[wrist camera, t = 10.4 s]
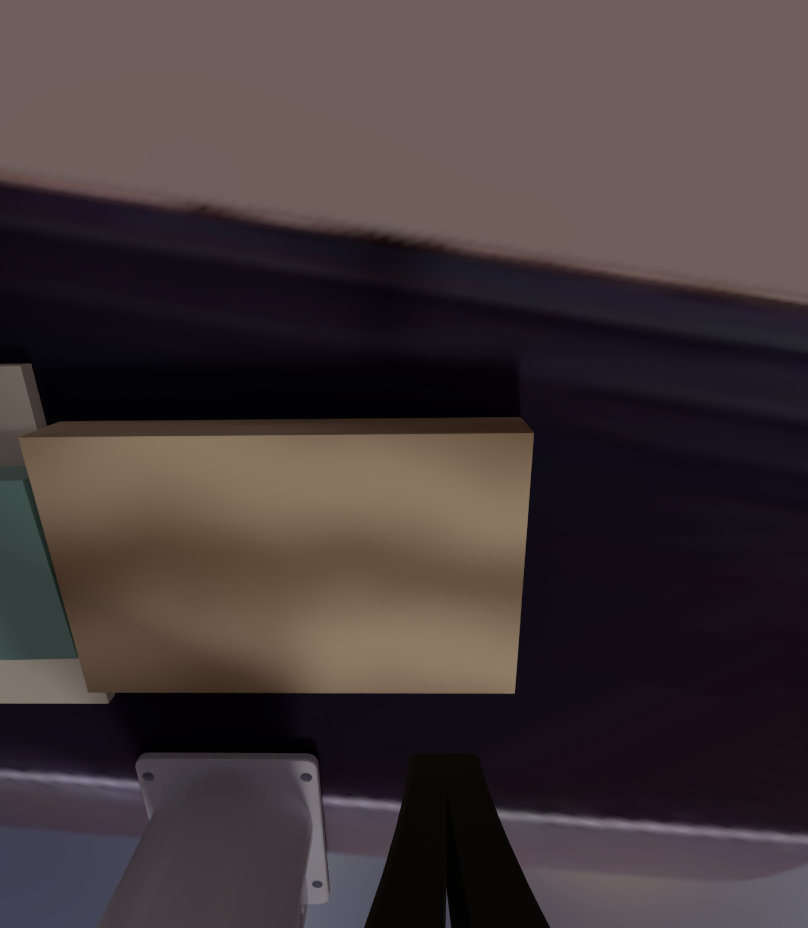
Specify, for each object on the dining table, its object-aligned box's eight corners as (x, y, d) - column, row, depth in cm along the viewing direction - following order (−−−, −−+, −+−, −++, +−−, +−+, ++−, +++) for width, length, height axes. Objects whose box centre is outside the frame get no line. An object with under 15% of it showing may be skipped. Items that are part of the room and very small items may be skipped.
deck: (505, 656, 21) (514, 693, 19) (117, 656, 21) (88, 692, 19) (520, 417, 17) (533, 432, 16) (60, 421, 18) (17, 437, 16)
